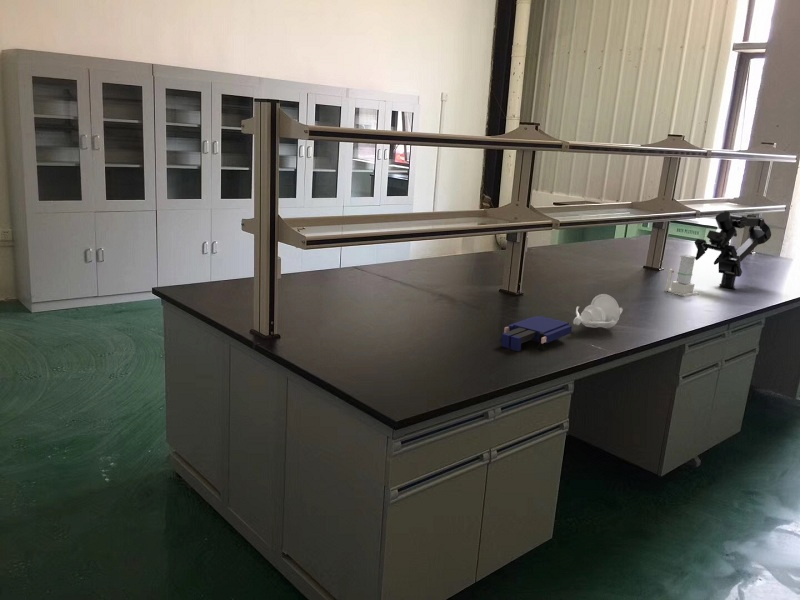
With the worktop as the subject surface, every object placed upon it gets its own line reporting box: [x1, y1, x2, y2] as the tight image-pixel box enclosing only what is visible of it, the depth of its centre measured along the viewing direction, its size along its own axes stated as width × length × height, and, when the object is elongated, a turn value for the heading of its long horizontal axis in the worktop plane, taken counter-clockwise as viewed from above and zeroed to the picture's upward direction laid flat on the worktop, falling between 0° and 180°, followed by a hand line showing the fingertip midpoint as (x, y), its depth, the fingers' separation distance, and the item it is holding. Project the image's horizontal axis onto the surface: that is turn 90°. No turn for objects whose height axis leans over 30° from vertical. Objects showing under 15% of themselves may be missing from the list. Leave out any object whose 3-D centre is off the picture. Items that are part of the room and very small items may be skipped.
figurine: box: [572, 293, 624, 329], centre depth 229 cm, size 17×12×25 cm
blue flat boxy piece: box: [501, 315, 573, 352], centre depth 213 cm, size 15×6×25 cm
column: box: [676, 254, 696, 285], centre depth 292 cm, size 4×4×13 cm
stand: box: [663, 268, 700, 297], centre depth 293 cm, size 10×11×10 cm
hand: (704, 261), depth 297 cm, fingers open, 9 cm apart
